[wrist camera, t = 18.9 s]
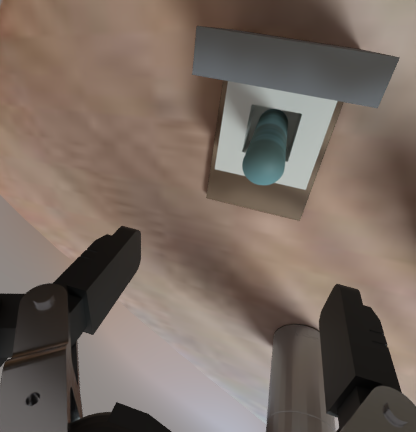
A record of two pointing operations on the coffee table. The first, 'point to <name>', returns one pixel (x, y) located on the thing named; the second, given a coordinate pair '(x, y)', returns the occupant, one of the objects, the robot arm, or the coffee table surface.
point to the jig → (290, 82)
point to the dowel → (267, 149)
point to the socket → (296, 134)
